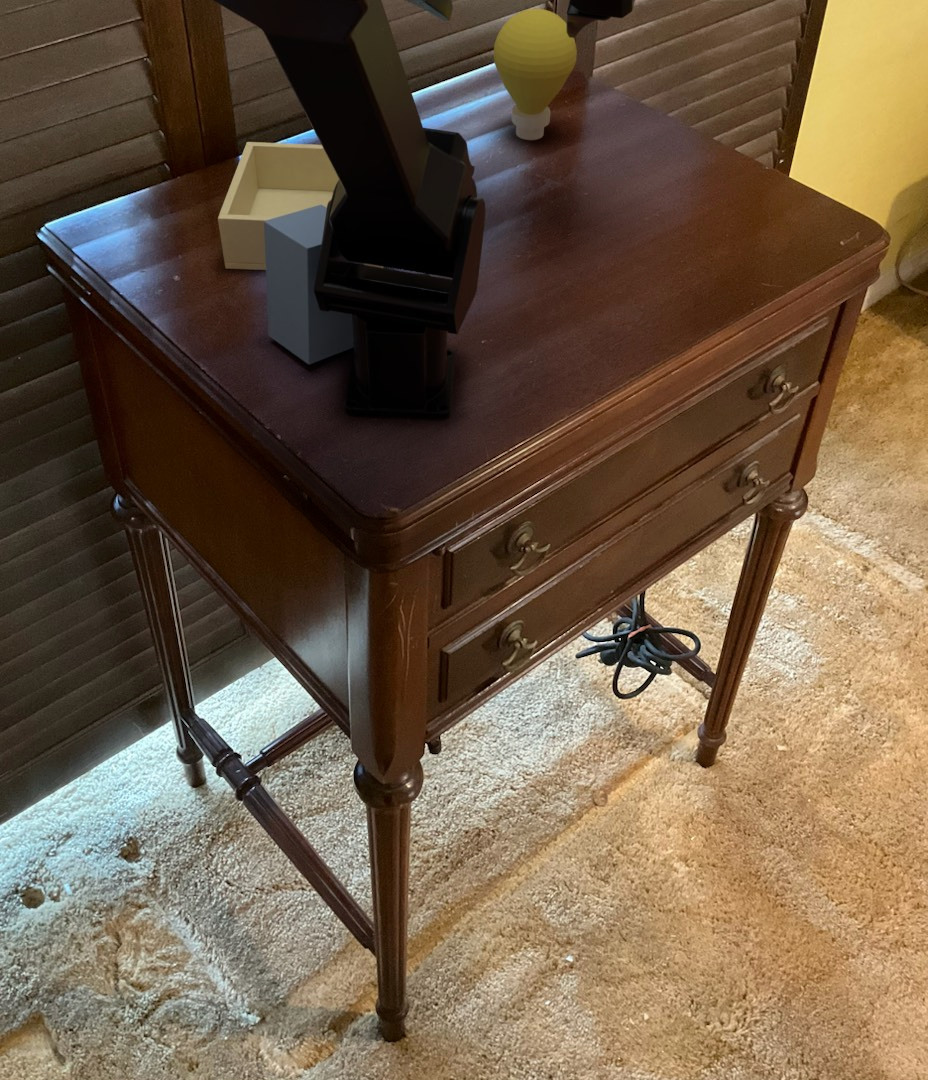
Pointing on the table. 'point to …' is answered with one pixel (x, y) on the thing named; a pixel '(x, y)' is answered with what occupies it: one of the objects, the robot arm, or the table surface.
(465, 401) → the table surface
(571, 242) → the table surface
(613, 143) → the table surface
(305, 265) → the blue block
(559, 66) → the light bulb
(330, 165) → the cream bin
